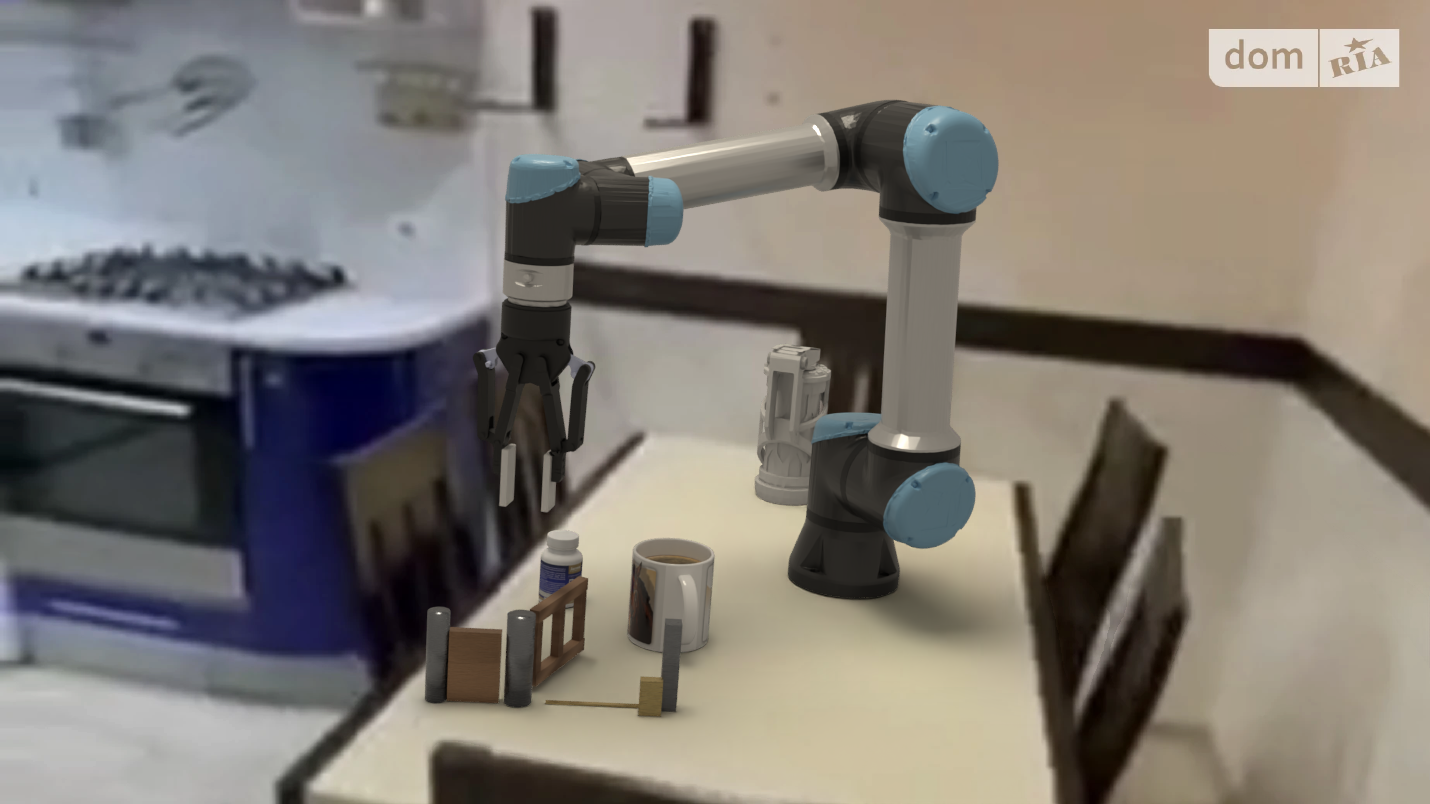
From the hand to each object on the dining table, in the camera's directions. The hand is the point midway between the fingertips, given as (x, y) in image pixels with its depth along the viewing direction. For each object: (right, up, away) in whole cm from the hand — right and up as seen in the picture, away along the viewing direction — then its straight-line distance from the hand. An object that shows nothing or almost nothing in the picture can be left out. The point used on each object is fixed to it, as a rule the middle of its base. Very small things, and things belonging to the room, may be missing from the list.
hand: (527, 505), depth 177 cm
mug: (+15, -17, +13) cm, 27 cm away
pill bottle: (+1, -14, +23) cm, 27 cm away
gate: (+3, -18, +2) cm, 19 cm away
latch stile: (+15, -22, -6) cm, 27 cm away
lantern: (+32, -4, +73) cm, 80 cm away
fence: (+2, -21, -6) cm, 22 cm away
